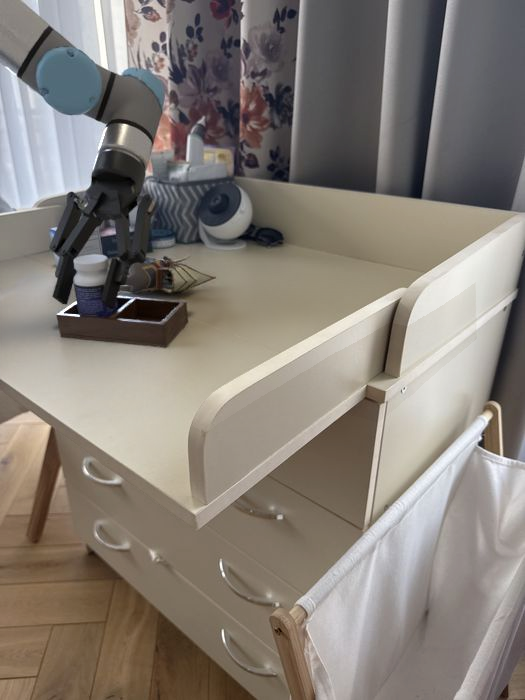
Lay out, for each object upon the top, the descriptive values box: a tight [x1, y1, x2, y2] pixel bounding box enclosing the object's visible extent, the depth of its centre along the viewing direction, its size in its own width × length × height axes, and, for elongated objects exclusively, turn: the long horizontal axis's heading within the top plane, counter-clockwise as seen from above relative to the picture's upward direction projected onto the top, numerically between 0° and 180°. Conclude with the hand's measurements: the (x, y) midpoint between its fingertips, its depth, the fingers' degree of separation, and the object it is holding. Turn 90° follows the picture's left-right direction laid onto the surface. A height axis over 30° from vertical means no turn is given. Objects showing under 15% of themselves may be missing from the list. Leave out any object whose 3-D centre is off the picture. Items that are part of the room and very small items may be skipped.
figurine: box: [117, 254, 217, 294], centre depth 94 cm, size 20×6×17 cm
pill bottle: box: [73, 254, 118, 318], centre depth 79 cm, size 6×6×10 cm
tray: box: [55, 295, 189, 348], centre depth 80 cm, size 9×16×4 cm, turn 76°
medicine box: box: [49, 226, 104, 274], centre depth 103 cm, size 8×4×9 cm, turn 133°
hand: (83, 302), depth 76 cm, fingers open, 7 cm apart
